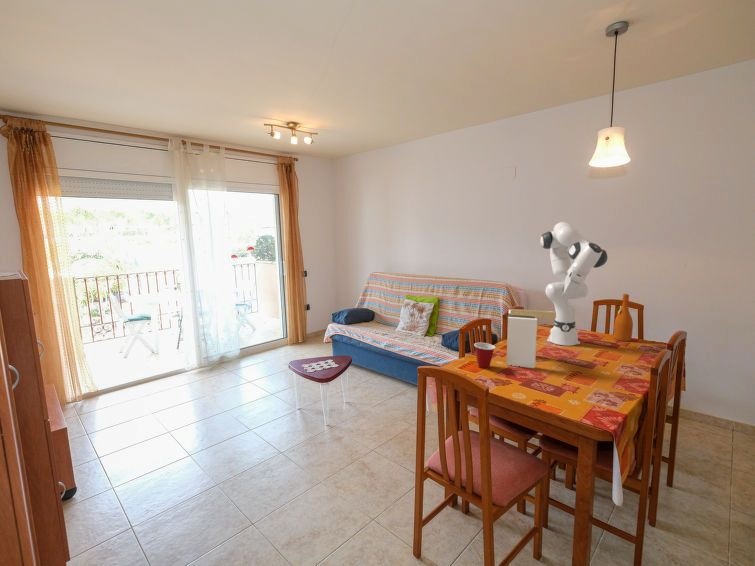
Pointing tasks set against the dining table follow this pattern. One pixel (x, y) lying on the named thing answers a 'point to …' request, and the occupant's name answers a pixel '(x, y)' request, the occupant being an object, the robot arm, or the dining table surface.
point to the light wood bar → (533, 313)
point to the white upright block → (521, 341)
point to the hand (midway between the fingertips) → (562, 294)
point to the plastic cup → (484, 354)
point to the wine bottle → (623, 322)
